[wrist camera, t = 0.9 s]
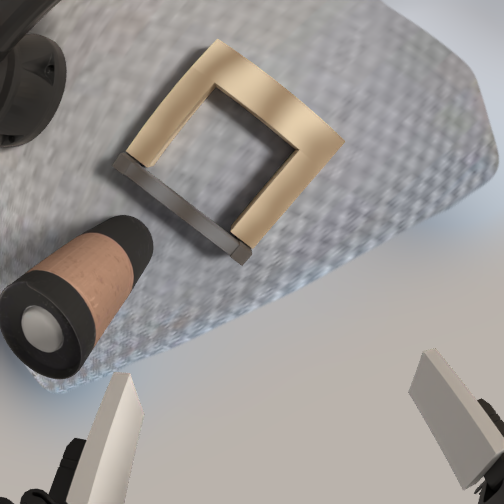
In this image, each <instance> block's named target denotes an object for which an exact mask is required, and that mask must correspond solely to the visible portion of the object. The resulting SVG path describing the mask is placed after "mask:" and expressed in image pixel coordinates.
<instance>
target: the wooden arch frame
mask: <svg viewBox="0 0 504 504" xmlns="http://www.w3.org/2000/svg"><path fill="white" fill-rule="evenodd" d="M216 87H217V88H218V89H220V90H221V91H222V92H224V93H225V94H226V95H228V96H229V97H230V98H232V99H233V100H234V101H236V102H237V103H238V104H240V105H241V106H242V107H244V108H245V109H246V110H247V111H249V112H250V113H251V114H252V115H254V116H255V117H256V118H258V119H259V120H260V121H261V122H263V123H264V124H265V125H266V126H267V127H269V128H270V129H271V130H272V131H274V132H275V133H276V134H277V135H278V136H280V137H281V138H282V139H283V140H284V141H286V142H287V143H288V144H289V145H290V146H291V147H293V148H294V149H295V151H294V152H293V153H292V154H291V155H290V157H289V158H288V159H287V160H286V161H285V162H284V163H283V165H282V166H281V167H280V168H279V169H278V170H277V172H276V173H275V174H274V175H273V176H272V178H271V179H270V180H269V181H268V182H267V183H266V185H265V186H264V187H263V188H262V189H261V190H260V192H259V193H258V194H257V195H256V196H255V198H254V199H253V200H252V201H251V202H250V204H249V205H248V206H247V207H246V208H245V210H244V211H243V212H242V213H241V214H240V216H239V217H238V218H237V219H236V220H235V222H234V223H233V224H232V225H231V231H230V232H231V233H233V234H234V235H235V236H237V239H235V238H234V237H233V236H231V235H230V234H229V233H228V232H226V231H225V230H224V229H222V228H221V227H220V226H218V225H217V224H216V223H215V222H213V221H212V220H211V219H209V218H208V217H207V216H206V215H204V214H203V213H202V212H200V211H199V210H198V209H196V208H195V207H194V206H193V205H191V204H190V203H189V202H187V201H186V200H185V199H183V198H182V197H181V196H180V195H178V194H177V193H176V192H174V191H173V190H172V189H170V188H169V187H168V186H167V185H165V184H164V183H163V182H161V181H160V180H159V179H157V178H156V177H155V176H154V175H152V174H151V173H150V172H148V171H147V170H146V169H144V168H143V167H142V166H141V165H140V164H141V163H142V164H143V165H145V166H146V167H151V166H154V164H155V163H156V162H157V160H158V159H159V158H160V156H161V155H162V154H163V152H164V151H165V150H166V148H167V147H168V146H169V144H170V143H171V142H172V140H173V139H174V138H175V136H176V135H177V134H178V133H179V131H180V130H181V129H182V127H183V126H184V125H185V124H186V122H187V121H188V120H189V119H190V117H191V116H192V115H193V114H194V113H195V111H196V110H197V109H198V108H199V107H200V105H201V104H202V103H203V102H204V101H205V99H206V98H207V97H208V96H209V95H210V94H211V92H212V91H213V90H214V89H215V88H216ZM344 143H345V140H343V139H342V138H341V137H340V136H339V135H338V134H337V133H336V132H335V131H334V130H333V129H332V128H331V127H330V126H328V125H327V124H326V123H325V122H324V121H323V120H322V119H321V118H320V117H319V116H317V115H316V114H315V113H314V112H313V111H312V110H311V109H309V108H308V107H307V106H306V105H305V104H304V103H302V102H301V101H300V100H299V99H298V98H296V97H295V96H294V95H293V94H292V93H290V92H289V91H288V90H287V89H286V88H284V87H283V86H282V85H281V84H279V83H278V82H277V81H275V80H274V79H273V78H272V77H270V76H269V75H268V74H266V73H265V72H264V71H263V70H261V69H260V68H259V67H257V66H256V65H254V64H253V63H252V62H250V61H249V60H248V59H246V58H245V57H243V56H242V55H241V54H239V53H238V52H236V51H235V50H234V49H232V48H231V47H229V46H228V45H226V44H225V43H223V42H222V41H220V40H219V39H217V40H216V41H215V42H214V43H213V44H212V45H211V46H210V47H209V48H208V49H207V50H206V51H205V52H204V54H203V55H202V56H201V57H200V58H199V59H198V60H197V61H196V62H195V63H194V64H193V66H192V67H191V68H190V69H189V70H188V71H187V72H186V74H185V75H184V76H183V77H182V78H181V79H180V81H179V82H178V83H177V84H176V85H175V87H174V88H173V89H172V90H171V91H170V93H169V94H168V95H167V96H166V98H165V99H164V100H163V101H162V103H161V104H160V105H159V106H158V108H157V109H156V110H155V112H154V113H153V114H152V115H151V117H150V118H149V119H148V121H147V122H146V123H145V125H144V126H143V127H142V129H141V130H140V132H139V133H138V134H137V136H136V137H135V139H134V140H133V141H132V143H131V144H130V146H129V147H128V149H127V150H126V152H127V153H120V154H119V156H118V157H117V159H116V160H115V162H114V163H113V165H112V167H114V168H115V169H116V170H118V171H119V172H120V173H121V174H123V175H126V176H127V177H129V178H130V179H131V180H132V181H134V182H135V183H136V184H138V185H139V186H140V187H141V188H143V189H144V190H145V191H147V192H148V193H149V194H150V195H152V196H153V197H154V198H156V199H157V200H158V201H160V202H161V203H162V204H163V205H165V206H166V207H167V208H169V209H170V210H171V211H173V212H174V213H175V214H176V215H178V216H179V217H180V218H182V219H183V220H184V221H186V222H187V223H188V224H190V225H191V226H192V227H193V228H195V229H196V230H197V231H199V232H200V233H201V234H203V235H204V236H205V237H207V238H208V239H209V240H211V241H212V242H213V243H215V244H216V245H217V246H218V247H220V248H221V249H222V250H224V251H225V252H226V253H228V254H229V255H230V257H231V258H232V259H234V260H235V261H236V262H238V263H239V264H240V265H242V266H243V264H244V263H245V262H246V261H247V260H248V259H249V257H250V256H251V255H252V250H251V248H252V249H253V248H254V247H255V246H256V245H257V243H258V242H259V241H260V240H261V239H262V238H263V237H264V235H265V234H266V233H267V232H268V231H269V230H270V228H271V227H272V226H273V225H274V224H275V223H276V221H277V220H278V219H279V218H280V217H281V216H282V214H283V213H284V212H285V211H286V210H287V209H288V207H289V206H290V205H291V204H292V203H293V202H294V201H295V199H296V198H297V197H298V196H299V195H300V194H301V192H302V191H303V190H304V189H305V188H306V187H307V185H308V184H309V183H310V182H311V181H312V180H313V178H314V177H315V176H316V175H317V174H318V173H319V172H320V170H321V169H322V168H323V167H324V166H325V165H326V163H327V162H328V161H329V160H330V159H331V158H332V156H333V155H334V154H335V153H336V152H337V151H338V149H339V148H340V147H341V146H342V145H343V144H344Z"/></svg>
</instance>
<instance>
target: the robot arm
mask: <svg viewBox="0 0 504 504" xmlns="http://www.w3.org/2000/svg"><path fill="white" fill-rule="evenodd" d="M60 1H61V0H0V146H2V147H9V146H19V145H23V144H25V143H27V142H29V141H31V140H32V139H34V138H35V137H36V136H38V135H39V134H40V133H41V132H42V131H43V130H44V129H45V127H46V126H47V125H48V124H49V122H50V121H51V119H52V118H53V116H54V114H55V112H56V110H57V108H58V106H59V104H60V101H61V98H62V95H63V92H64V88H65V82H66V62H65V58H64V54H63V52H62V50H61V48H60V47H59V46H58V45H57V44H56V43H55V42H54V41H52V40H50V39H48V38H46V37H44V36H41V35H37V34H27V32H28V31H29V30H30V29H31V28H32V27H33V26H34V25H35V24H36V23H37V22H38V21H39V20H40V19H41V18H42V17H43V16H45V15H46V14H47V13H48V12H49V11H50V10H51V9H52V8H53V7H54V6H55V5H56V4H58V3H59V2H60ZM408 393H409V394H410V396H411V397H412V399H413V401H414V402H415V404H416V406H417V408H418V409H419V411H420V413H421V415H422V416H423V418H424V420H425V421H426V423H427V425H428V426H429V428H430V430H431V432H432V434H433V435H434V437H435V439H436V441H437V442H438V444H439V446H440V448H441V450H442V451H443V453H444V455H445V457H446V459H447V460H448V462H449V464H450V466H451V468H452V470H453V472H454V474H455V476H456V477H457V479H458V481H459V483H460V485H461V487H462V489H463V490H465V489H467V488H468V487H470V486H472V485H474V484H476V483H477V482H478V481H479V480H480V479H481V478H482V477H483V476H484V478H485V481H484V482H483V483H482V484H481V485H480V486H479V487H478V488H477V489H476V490H475V492H474V494H476V493H477V492H478V491H479V490H481V489H482V490H481V492H480V493H479V495H480V498H479V502H478V504H504V422H503V421H502V420H500V417H499V416H498V414H496V412H495V410H494V409H493V408H492V406H491V405H490V404H489V403H487V402H486V401H485V400H483V399H479V400H476V399H475V397H474V396H473V395H472V393H471V392H470V391H469V389H468V388H467V387H466V386H465V384H464V383H463V382H462V380H461V379H460V378H459V377H458V375H457V374H456V373H455V372H454V370H453V369H452V368H451V367H450V365H449V364H448V363H447V362H446V360H445V359H444V358H443V357H442V355H441V354H440V353H439V352H438V351H437V349H436V348H435V349H430V350H426V351H423V353H422V356H421V359H420V362H419V365H418V368H417V371H416V374H415V376H414V379H413V381H412V384H411V387H410V389H409V392H408ZM144 415H145V414H144V411H143V409H142V406H141V403H140V401H139V398H138V395H137V392H136V389H135V387H134V384H133V381H132V378H131V375H130V373H120V372H114V373H113V376H112V378H111V380H110V383H109V385H108V387H107V390H106V392H105V395H104V397H103V399H102V402H101V404H100V407H99V409H98V412H97V414H96V417H95V420H94V423H93V425H92V428H91V430H90V433H89V435H88V438H87V440H84V439H78V438H74V439H73V440H72V441H71V442H70V444H69V445H68V446H67V447H66V450H65V452H64V455H63V459H62V460H61V462H60V467H59V468H58V470H57V473H56V475H55V478H54V481H53V484H52V486H51V489H50V492H49V494H47V493H46V492H44V491H43V490H40V489H30V490H28V491H27V492H25V493H24V495H23V496H22V497H21V502H20V504H124V502H125V497H126V492H127V487H128V483H129V478H130V473H131V469H132V465H133V460H134V456H135V451H136V447H137V443H138V439H139V435H140V431H141V427H142V423H143V419H144ZM0 504H14V503H12V502H11V501H10V500H8V499H7V498H4V497H0Z"/></svg>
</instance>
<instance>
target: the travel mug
mask: <svg viewBox="0 0 504 504" xmlns="http://www.w3.org/2000/svg"><path fill="white" fill-rule="evenodd" d="M152 254H153V240H152V236H151V234H150V232H149V230H148V228H147V227H146V226H145V225H144V224H143V223H142V222H141V221H140V220H138V219H136V218H134V217H131V216H126V215H120V216H116V217H113V218H111V219H109V220H107V221H105V222H103V223H101V224H99V225H98V226H96V227H94V228H92V229H90V230H88V231H87V232H85V233H83V234H81V235H79V236H78V237H76V238H74V239H73V240H71V241H70V242H68V243H67V244H66V245H64V246H63V247H61V248H60V249H58V250H57V251H55V252H54V253H53V254H51V255H50V256H48V257H47V258H45V259H44V260H43V261H41V262H40V263H39V264H37V265H36V266H34V267H33V268H32V269H30V270H29V271H28V272H26V273H25V274H24V275H22V276H21V277H20V278H18V279H17V280H16V281H14V282H13V283H12V284H10V285H9V286H7V287H6V288H5V289H4V290H3V291H2V293H1V295H0V329H1V332H2V334H3V336H4V338H5V340H6V342H7V344H8V345H9V347H10V348H11V350H12V351H13V352H14V354H15V355H16V356H17V357H18V358H19V359H20V360H21V361H22V362H23V363H24V364H25V365H27V366H28V367H29V368H31V369H32V370H33V371H35V372H37V373H39V374H41V375H43V376H46V377H49V378H53V379H66V378H69V377H71V376H73V375H75V374H76V373H77V372H78V371H79V370H80V368H81V367H82V366H83V364H84V362H85V361H86V359H87V358H88V356H89V354H90V353H91V351H92V350H93V348H94V347H95V345H96V343H97V342H98V340H99V339H100V337H101V336H102V334H103V333H104V331H105V330H106V328H107V327H108V325H109V324H110V322H111V321H112V319H113V318H114V316H115V315H116V313H117V312H118V310H119V309H120V307H121V306H122V305H123V303H124V302H125V300H126V299H127V297H128V296H129V294H130V293H131V291H132V289H133V288H134V286H135V284H136V283H137V281H138V279H139V278H140V276H141V274H142V273H143V271H144V269H145V268H146V266H147V265H148V263H149V261H150V259H151V257H152Z"/></svg>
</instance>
